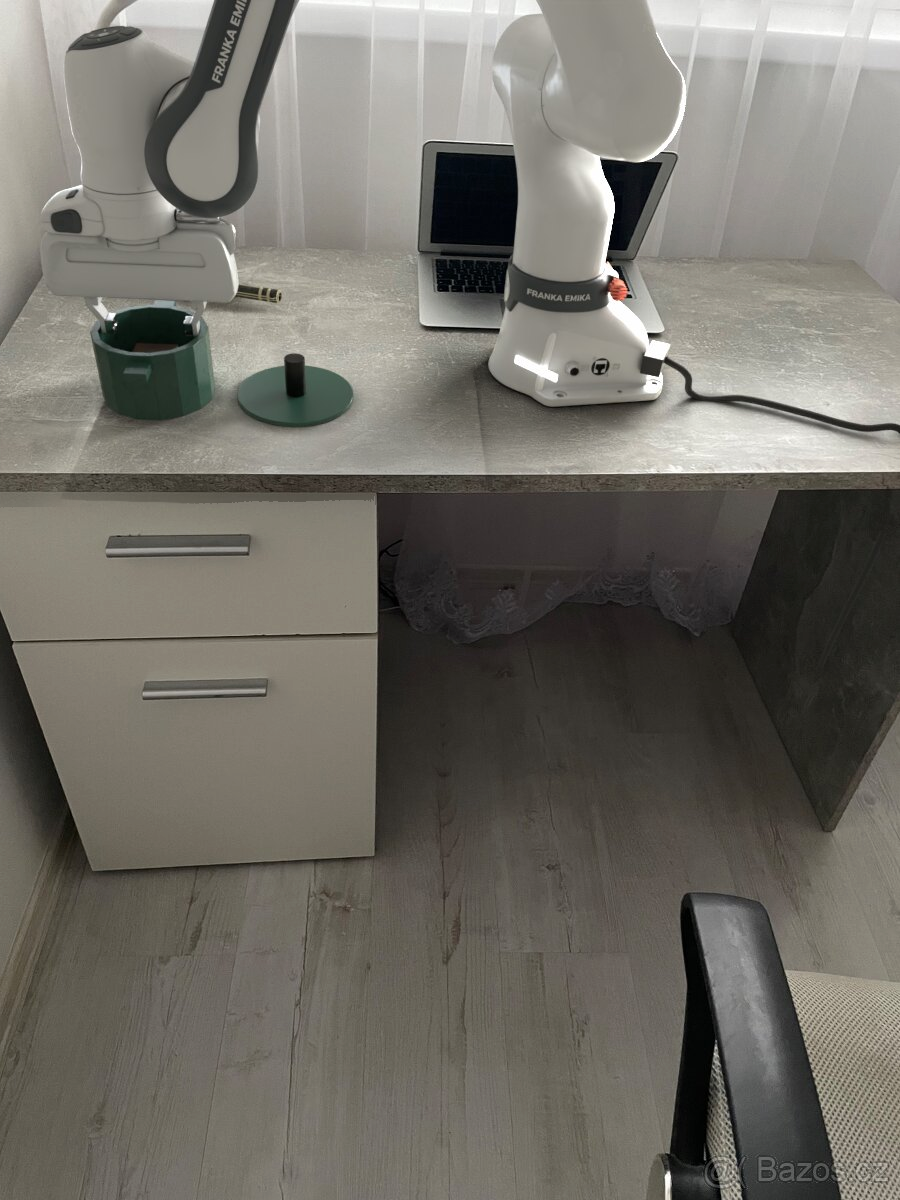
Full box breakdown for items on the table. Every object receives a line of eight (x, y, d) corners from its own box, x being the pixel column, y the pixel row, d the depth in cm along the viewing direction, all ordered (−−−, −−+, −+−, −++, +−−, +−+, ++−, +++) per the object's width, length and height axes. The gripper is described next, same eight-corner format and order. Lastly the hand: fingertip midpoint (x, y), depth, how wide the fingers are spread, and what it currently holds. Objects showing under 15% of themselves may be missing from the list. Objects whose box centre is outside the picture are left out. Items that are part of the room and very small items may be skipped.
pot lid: (355, 375, 119) (355, 333, 115) (351, 433, 109) (351, 389, 105) (245, 371, 118) (242, 328, 114) (231, 429, 108) (226, 385, 104)
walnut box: (183, 382, 114) (178, 344, 111) (176, 403, 110) (170, 364, 107) (142, 381, 114) (136, 342, 110) (134, 401, 110) (127, 362, 107)
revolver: (305, 277, 140) (278, 314, 131) (173, 257, 142) (137, 292, 133) (303, 250, 137) (276, 286, 128) (169, 231, 139) (132, 265, 130)
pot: (224, 361, 119) (217, 297, 114) (202, 438, 106) (194, 370, 100) (122, 357, 118) (110, 292, 113) (87, 435, 105) (72, 365, 99)
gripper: (237, 202, 101) (248, 323, 110) (40, 193, 99) (68, 316, 109) (229, 224, 96) (241, 349, 105) (22, 215, 95) (53, 342, 104)
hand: (152, 332), depth 107 cm, fingers open, 8 cm apart
